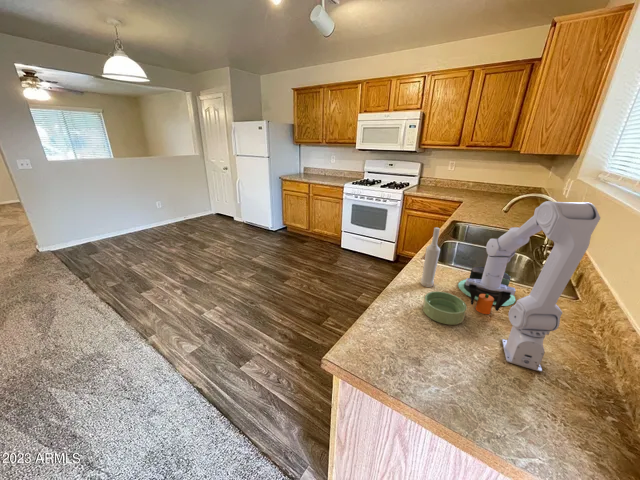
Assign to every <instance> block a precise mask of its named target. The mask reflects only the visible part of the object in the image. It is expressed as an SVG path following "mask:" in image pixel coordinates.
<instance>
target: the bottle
mask: <svg viewBox="0 0 640 480" xmlns="http://www.w3.org/2000/svg"><path fill="white" fill-rule="evenodd" d="M440 231H441V228H439V227H433V234H432V240H431V243H430V244H429V245H427V246H426V249H425V256H424V262H423V269H422V275H421V278H420V285H421V286H423V287H426V288H433V286H434V283H435V281H434V280H435V275H436V271H437V266H438V263H439V257H440V253H441V248H440V247H439V246H438V242H439V241H438V240H439V236H440Z"/></svg>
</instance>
